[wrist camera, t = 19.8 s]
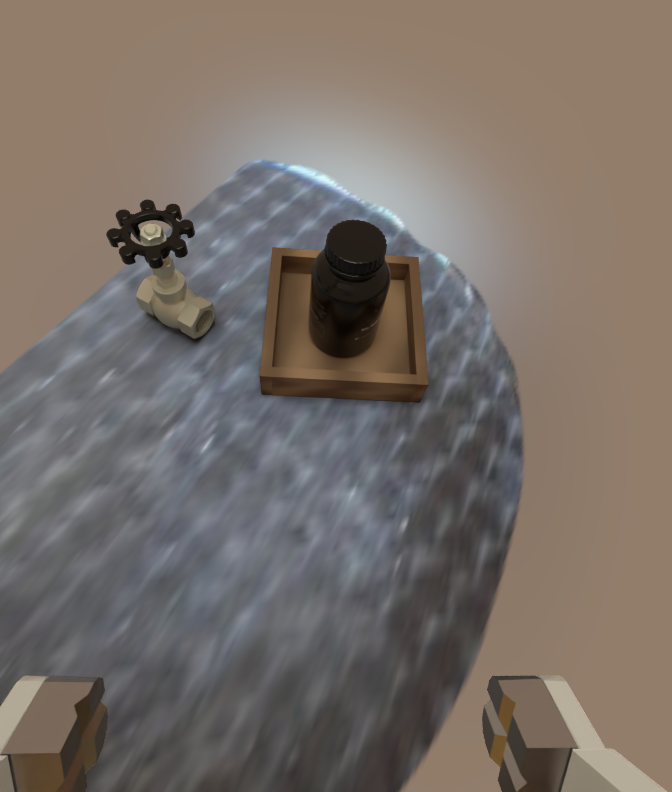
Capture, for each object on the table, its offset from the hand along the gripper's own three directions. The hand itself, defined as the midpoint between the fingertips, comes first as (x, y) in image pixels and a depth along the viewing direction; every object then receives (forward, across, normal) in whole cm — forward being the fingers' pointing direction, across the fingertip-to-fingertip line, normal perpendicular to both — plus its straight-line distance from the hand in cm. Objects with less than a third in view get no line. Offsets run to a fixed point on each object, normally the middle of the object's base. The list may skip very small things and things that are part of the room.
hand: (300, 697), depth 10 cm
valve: (+42, +13, 0) cm, 44 cm away
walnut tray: (+42, -4, 0) cm, 42 cm away
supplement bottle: (+41, -4, 0) cm, 41 cm away
